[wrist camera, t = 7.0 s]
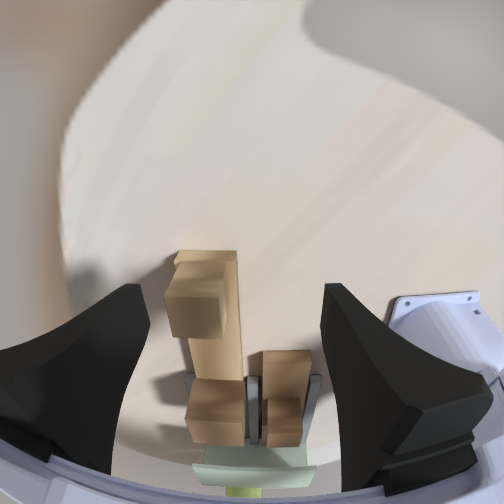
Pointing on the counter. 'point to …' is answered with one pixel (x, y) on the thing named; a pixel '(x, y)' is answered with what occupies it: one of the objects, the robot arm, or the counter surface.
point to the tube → (243, 492)
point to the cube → (217, 412)
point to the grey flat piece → (253, 409)
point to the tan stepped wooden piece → (207, 311)
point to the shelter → (255, 466)
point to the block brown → (284, 395)
